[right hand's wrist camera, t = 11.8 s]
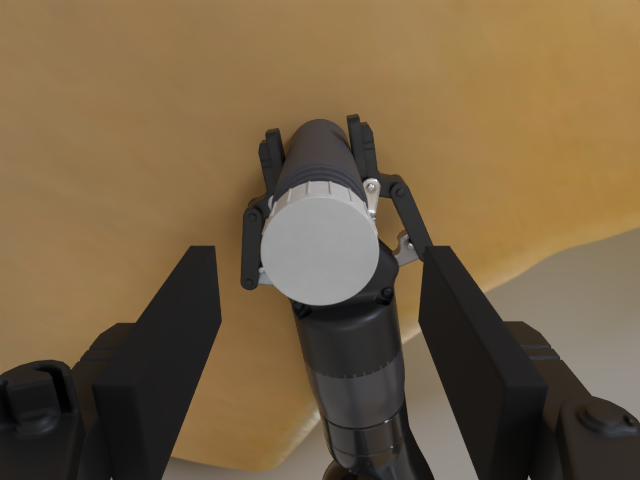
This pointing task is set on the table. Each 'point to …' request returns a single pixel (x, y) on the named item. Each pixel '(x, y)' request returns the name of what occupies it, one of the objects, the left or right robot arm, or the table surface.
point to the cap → (319, 244)
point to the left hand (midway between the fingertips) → (311, 124)
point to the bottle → (319, 160)
